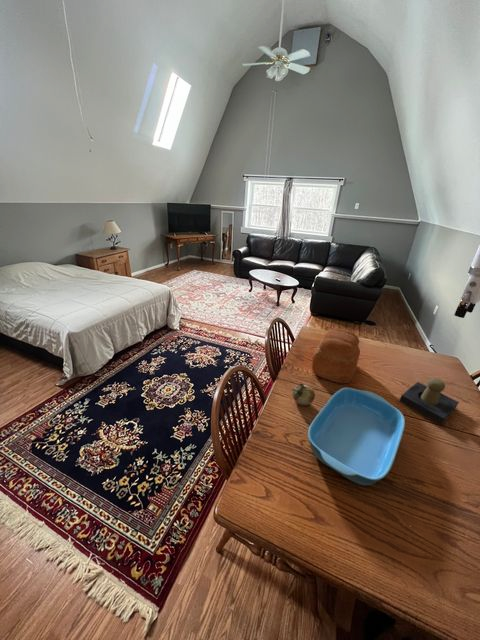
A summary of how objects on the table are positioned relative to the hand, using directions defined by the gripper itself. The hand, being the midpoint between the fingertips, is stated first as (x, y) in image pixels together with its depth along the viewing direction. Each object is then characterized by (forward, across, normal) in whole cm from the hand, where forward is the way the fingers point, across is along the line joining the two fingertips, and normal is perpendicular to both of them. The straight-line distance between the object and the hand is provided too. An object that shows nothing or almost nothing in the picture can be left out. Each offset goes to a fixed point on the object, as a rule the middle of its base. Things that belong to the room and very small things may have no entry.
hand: (463, 314), depth 108 cm
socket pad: (+28, -28, -6) cm, 40 cm away
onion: (+28, -66, +22) cm, 75 cm away
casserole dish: (+28, -66, +1) cm, 72 cm away
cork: (+28, -28, -6) cm, 40 cm away
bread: (+28, -38, +28) cm, 55 cm away
